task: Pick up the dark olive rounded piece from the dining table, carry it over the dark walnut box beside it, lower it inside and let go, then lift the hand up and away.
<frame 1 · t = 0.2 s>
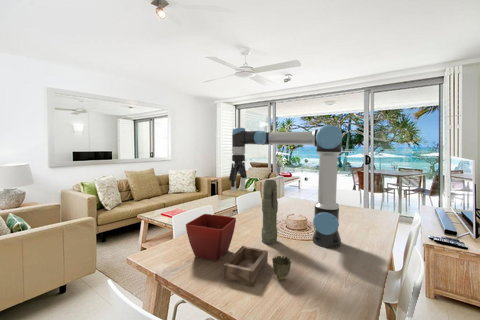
hand: (238, 190, 139), 28 cm above the table, tool pointing down, fingers open, 13 cm apart
walnut box: (246, 270, 102), on the table
thermos: (269, 241, 135), on the table
dark olive rounded piece: (281, 279, 96), on the table
plant pot: (211, 254, 118), on the table
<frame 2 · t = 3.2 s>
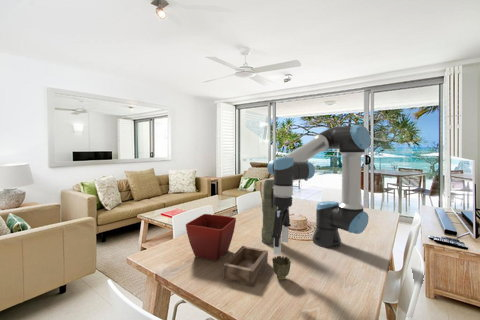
hand: (281, 247, 96), 13 cm above the table, tool pointing down, fingers open, 13 cm apart
nothing on the table moved.
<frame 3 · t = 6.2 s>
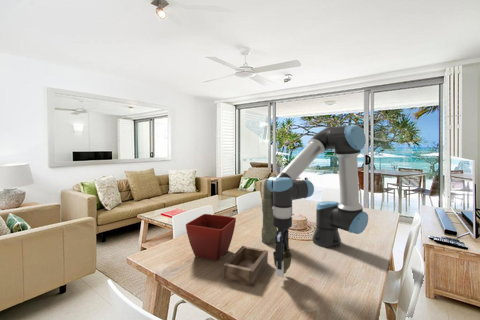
hand: (282, 271, 97), 3 cm above the table, tool pointing down, fingers closed on dark olive rounded piece, 7 cm apart
dark olive rounded piece: (282, 272, 97), point 2 cm above the table, touching gripper
everything else where it was.
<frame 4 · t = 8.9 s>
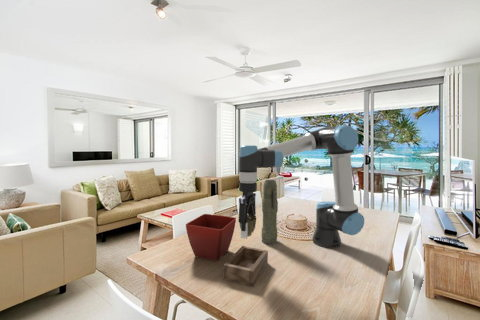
hand: (247, 234, 101), 16 cm above the table, tool pointing down, fingers closed on dark olive rounded piece, 7 cm apart
dark olive rounded piece: (247, 235, 101), point 15 cm above the table, touching gripper
everything else where it was.
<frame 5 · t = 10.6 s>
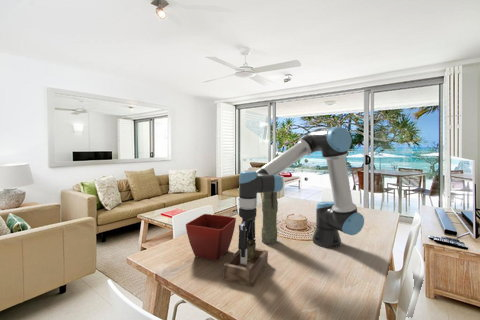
hand: (247, 259, 102), 5 cm above the table, tool pointing down, fingers closed on dark olive rounded piece, 7 cm apart
dark olive rounded piece: (247, 260, 102), point 4 cm above the table, touching gripper
everything else where it was.
when the fingers open (3 cm above the table, at t = 11.8 s): dark olive rounded piece drops 2 cm, resting on walnut box.
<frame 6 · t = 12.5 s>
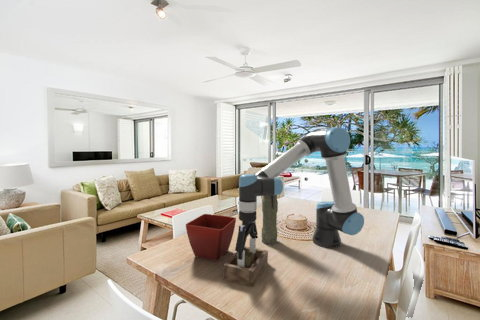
hand: (247, 259, 102), 5 cm above the table, tool pointing down, fingers open, 13 cm apart
dark olive rounded piece: (243, 272, 98), point 1 cm above the table, touching gripper, walnut box
everything else where it was.
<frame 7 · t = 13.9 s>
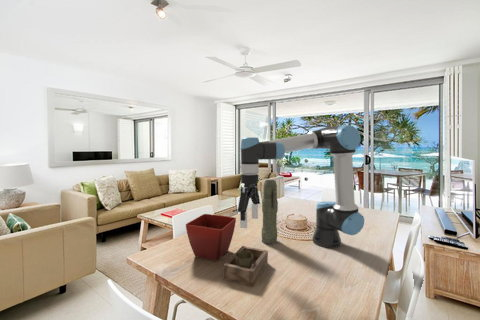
hand: (249, 222, 102), 21 cm above the table, tool pointing down, fingers open, 13 cm apart
dark olive rounded piece: (243, 273, 98), point 1 cm above the table, touching walnut box
everything else where it was.
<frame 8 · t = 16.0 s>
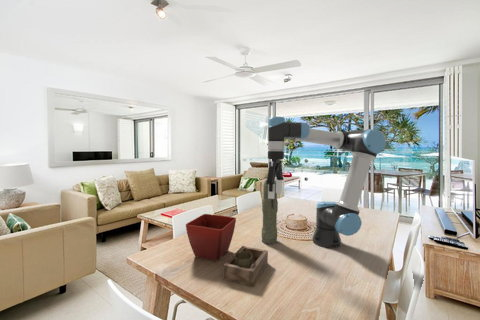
hand: (275, 195, 111), 31 cm above the table, tool pointing down, fingers open, 13 cm apart
nothing on the table moved.
at the end: dark olive rounded piece inside the target area on the walnut box (4.1 cm from its centre), point 0.8 cm above the walnut box's base; the gripper is holding nothing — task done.
